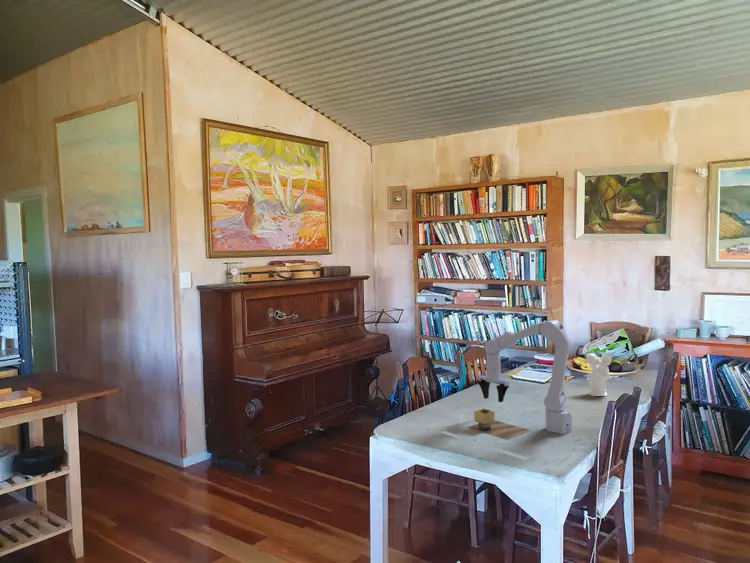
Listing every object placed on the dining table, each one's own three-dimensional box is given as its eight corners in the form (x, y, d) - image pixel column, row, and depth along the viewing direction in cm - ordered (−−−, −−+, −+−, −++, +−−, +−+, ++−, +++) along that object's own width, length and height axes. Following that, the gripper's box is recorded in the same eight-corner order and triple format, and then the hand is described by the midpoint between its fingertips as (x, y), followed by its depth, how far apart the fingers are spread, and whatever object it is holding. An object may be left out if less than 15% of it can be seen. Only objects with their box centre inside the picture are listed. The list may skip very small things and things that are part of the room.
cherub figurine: (582, 394, 282) (583, 350, 280) (595, 389, 290) (595, 347, 289) (606, 398, 273) (607, 353, 271) (618, 394, 281) (619, 349, 280)
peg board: (532, 433, 224) (532, 418, 224) (507, 442, 214) (507, 426, 213) (491, 421, 239) (491, 407, 239) (466, 429, 229) (466, 415, 229)
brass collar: (494, 421, 226) (494, 411, 226) (485, 424, 223) (485, 414, 222) (483, 418, 231) (483, 408, 230) (474, 421, 227) (474, 411, 227)
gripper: (473, 366, 240) (473, 398, 241) (501, 372, 229) (501, 405, 230) (484, 364, 245) (484, 395, 245) (512, 369, 233) (512, 402, 234)
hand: (493, 400), depth 238 cm, fingers open, 7 cm apart
